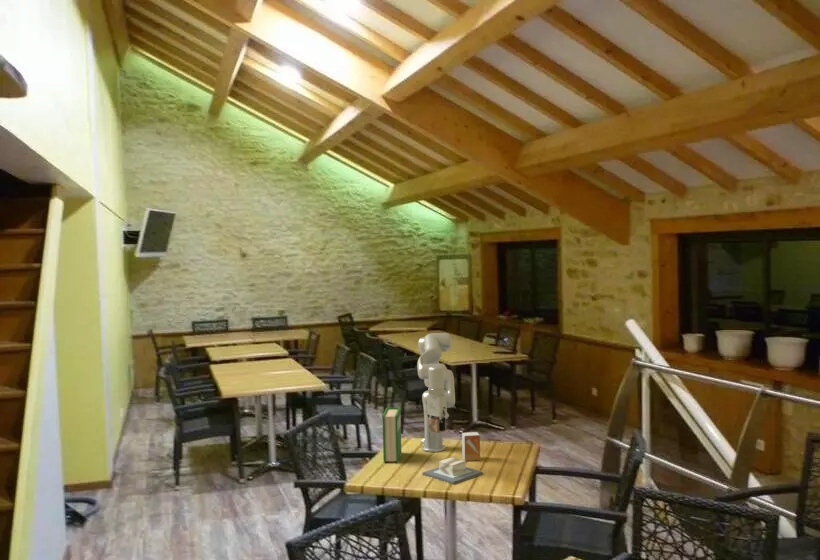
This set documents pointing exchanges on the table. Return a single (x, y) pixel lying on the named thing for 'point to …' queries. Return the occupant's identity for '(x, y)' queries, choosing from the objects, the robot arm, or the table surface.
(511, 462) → the table surface
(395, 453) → the hardback book
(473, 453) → the small box
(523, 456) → the table surface
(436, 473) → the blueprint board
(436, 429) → the walnut cube
